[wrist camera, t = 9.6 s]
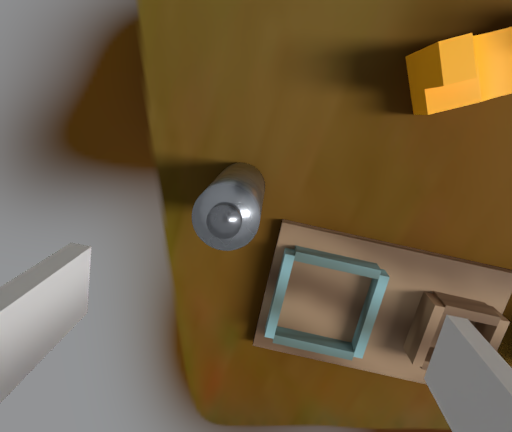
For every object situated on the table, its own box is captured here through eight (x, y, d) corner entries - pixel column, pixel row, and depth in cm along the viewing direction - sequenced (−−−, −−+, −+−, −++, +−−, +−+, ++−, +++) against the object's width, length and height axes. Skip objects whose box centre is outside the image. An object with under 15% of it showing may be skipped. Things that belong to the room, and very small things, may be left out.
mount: (282, 219, 33) (282, 231, 29) (512, 270, 32) (539, 288, 29) (253, 339, 36) (250, 362, 32) (462, 385, 36) (481, 414, 32)
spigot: (222, 158, 32) (194, 180, 21) (269, 168, 32) (265, 195, 21) (213, 204, 33) (183, 247, 22) (259, 213, 33) (251, 261, 22)
